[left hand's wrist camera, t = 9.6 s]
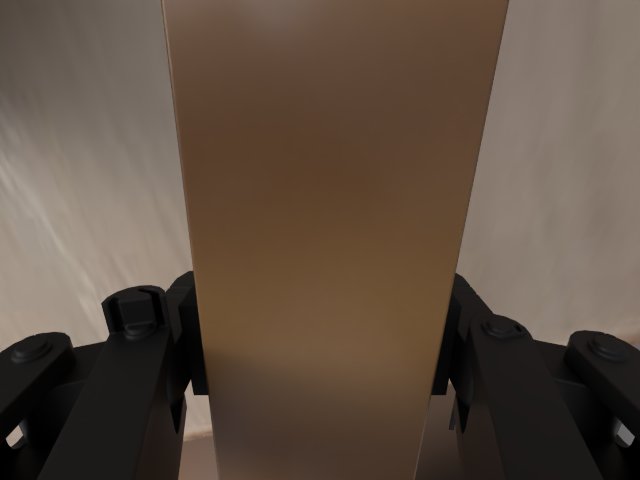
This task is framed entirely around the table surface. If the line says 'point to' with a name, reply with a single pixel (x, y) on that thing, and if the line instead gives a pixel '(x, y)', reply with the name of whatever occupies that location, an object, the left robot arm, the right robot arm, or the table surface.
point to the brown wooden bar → (326, 217)
